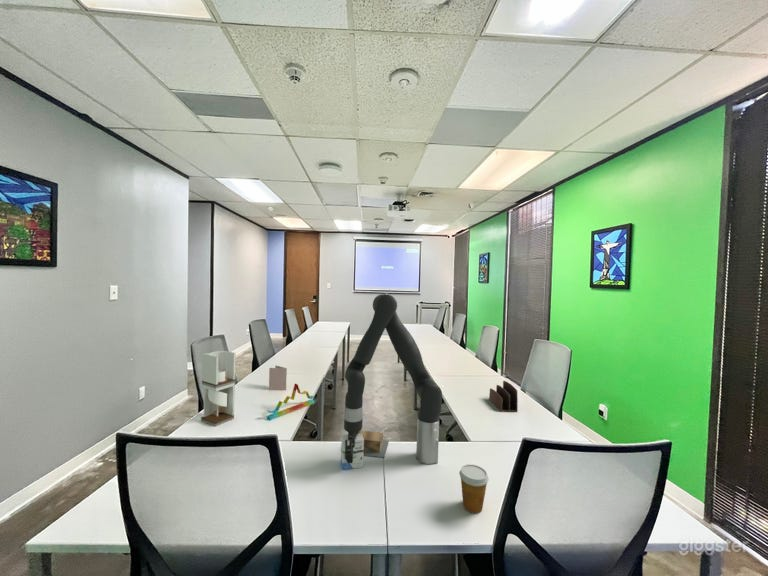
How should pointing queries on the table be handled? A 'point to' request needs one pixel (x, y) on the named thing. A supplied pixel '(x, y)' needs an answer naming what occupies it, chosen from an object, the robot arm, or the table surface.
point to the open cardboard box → (372, 441)
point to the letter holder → (504, 397)
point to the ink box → (356, 453)
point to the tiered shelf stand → (218, 387)
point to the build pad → (375, 454)
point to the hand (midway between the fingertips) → (352, 457)
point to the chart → (293, 408)
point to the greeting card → (277, 378)
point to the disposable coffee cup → (473, 487)
